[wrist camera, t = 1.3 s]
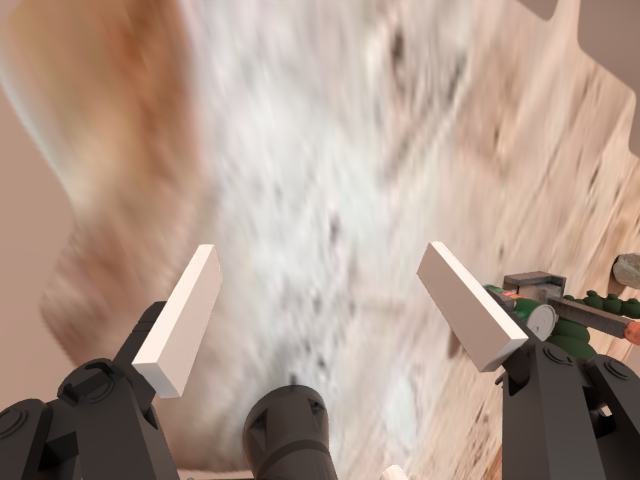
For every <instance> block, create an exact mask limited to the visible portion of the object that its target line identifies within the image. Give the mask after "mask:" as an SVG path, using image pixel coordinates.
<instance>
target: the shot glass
mask: <svg viewBox="0 0 640 480" xmlns="http://www.w3.org/2000/svg"><path fill="white" fill-rule="evenodd" d="M380 480H408V479H407V477H406V476H405V474H404V473H403V471H402V470H401V468H400V467H399V466H398V465H392V466H390V467H388V468H387V469H385V471H384V472H383V473H382V475H381V478H380Z"/></svg>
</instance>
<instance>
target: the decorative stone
mask: <svg viewBox="0 0 640 480" xmlns="http://www.w3.org/2000/svg"><path fill="white" fill-rule="evenodd" d="M613 272H614V276H615V278H616V280H617V281H618V282H619V283H620V284H623V285H627V286H628V287H631V288H634V289H640V253H630V254H621V255H619V257H618V260H617V262H616V264H614V266H613Z"/></svg>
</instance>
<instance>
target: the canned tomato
mask: <svg viewBox="0 0 640 480" xmlns="http://www.w3.org/2000/svg"><path fill="white" fill-rule="evenodd" d="M482 287H485V288H488V289H490V290H493V291H496V292H498V293H501V294H504V295H506V296H509V297H512V298H514V299H515V302H514V308H513V313H515V314H516V315H517V316H518V317H519V318H520V319H521V320H522V321H523V322H524V323H525V324H526V326H527V327H528V328H529V329H530V330H531V331H532V332H533V333H534V334H535V335H536V336H537V337H538V338H539V339H540V340H541V341H544V340H546V339H547V337H548V336H549V335H550V334H551V332H552V330H553V328H554V325H555V320H556V315H555V311H554V309H553V308H552V307H551V306H550V305H546V304H543V303H540V302H538V301H535V300H532V299H529V298H526V297H524V296H521V295H518V294H515V293H512V292H509V291H507V290H504V289H501V288H498V287H495V286H493V285H490V284H487V285H483V286H482Z"/></svg>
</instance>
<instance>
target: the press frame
mask: <svg viewBox="0 0 640 480" xmlns="http://www.w3.org/2000/svg"><path fill="white" fill-rule="evenodd" d="M504 281H505V282H508V283H511V284H514V285H517V286H521V285H528V284H535V283H542V282H544V283H548V284H552V285H555V286H559V287H562V289H561V294H560V298H563V293H564V288H565V282H566V277H561V276H557V275H553V274H549V273H545V272H541V271H539V272H531V273H523V274H515V275H507V276H505V279H504ZM483 288H484V289H485V287H483ZM489 290H490V289H489ZM491 291H492V292H493V293H495V294H496V295H498V296H499V297H500V298H501V299H502V300H503V301H504V302H505V303H506V306H508V307H509V308H510V309H511V310H512V311H513V308H514V302H515V299H514V298H512V297H509V296H506V295H504V294H501V293H498V292H496V291H493V290H491ZM558 318H559V315H556V320H555V322H558Z"/></svg>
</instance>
